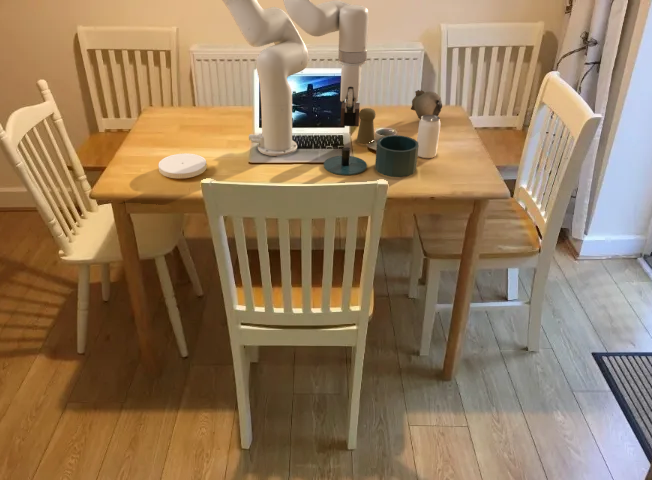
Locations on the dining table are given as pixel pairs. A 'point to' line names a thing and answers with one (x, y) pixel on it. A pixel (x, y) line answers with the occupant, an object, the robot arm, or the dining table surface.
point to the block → (357, 109)
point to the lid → (345, 164)
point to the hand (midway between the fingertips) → (350, 121)
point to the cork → (366, 126)
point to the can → (428, 136)
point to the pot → (396, 156)
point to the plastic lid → (182, 165)
